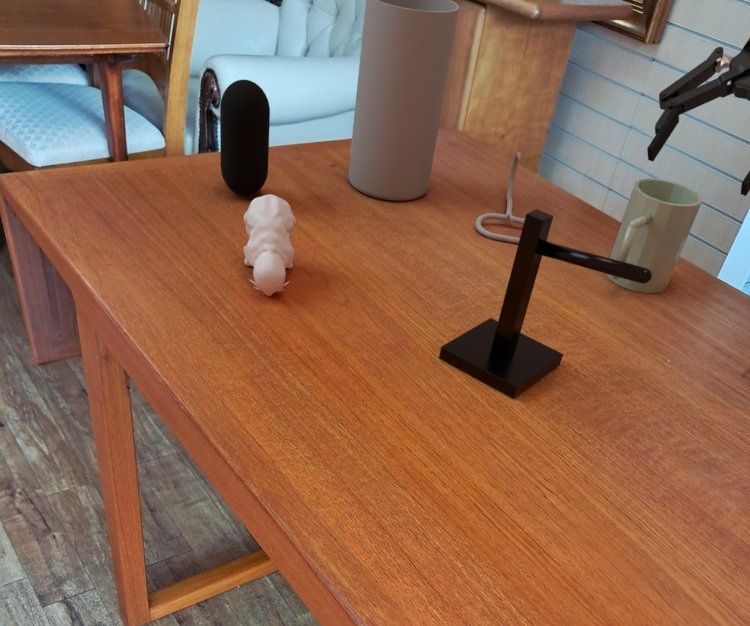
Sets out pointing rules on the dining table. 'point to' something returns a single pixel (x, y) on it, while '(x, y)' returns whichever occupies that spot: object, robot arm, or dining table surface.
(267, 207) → the white animal figurine
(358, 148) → the cylinder vase
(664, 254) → the mug
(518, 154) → the hook
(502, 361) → the mug stand
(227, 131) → the decorative object
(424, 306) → the dining table surface
